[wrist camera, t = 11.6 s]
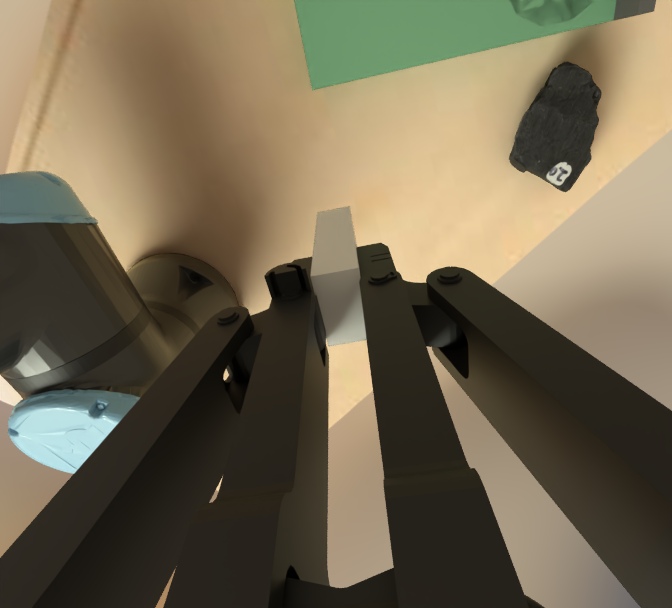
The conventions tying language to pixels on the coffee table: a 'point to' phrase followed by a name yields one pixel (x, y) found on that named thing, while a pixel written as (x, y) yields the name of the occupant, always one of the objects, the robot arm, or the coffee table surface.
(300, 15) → the green
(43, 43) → the coffee table surface
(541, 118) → the mineral
